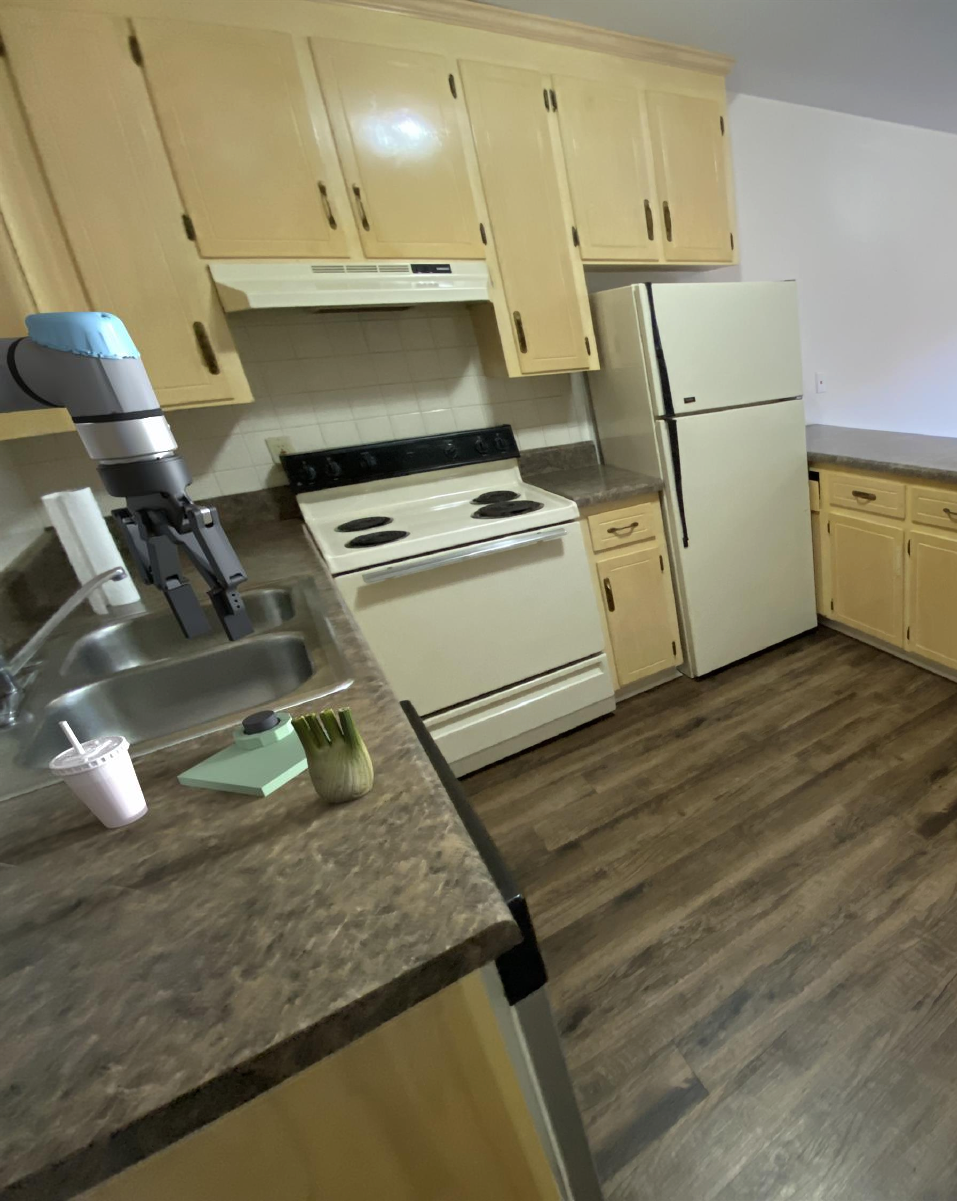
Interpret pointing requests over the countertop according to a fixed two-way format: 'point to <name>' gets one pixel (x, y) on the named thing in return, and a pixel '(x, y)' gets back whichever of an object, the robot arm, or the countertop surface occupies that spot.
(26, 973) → the countertop surface
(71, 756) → the smoothie
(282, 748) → the scale
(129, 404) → the robot arm
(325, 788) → the fennel bulb
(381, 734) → the countertop surface
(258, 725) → the button
